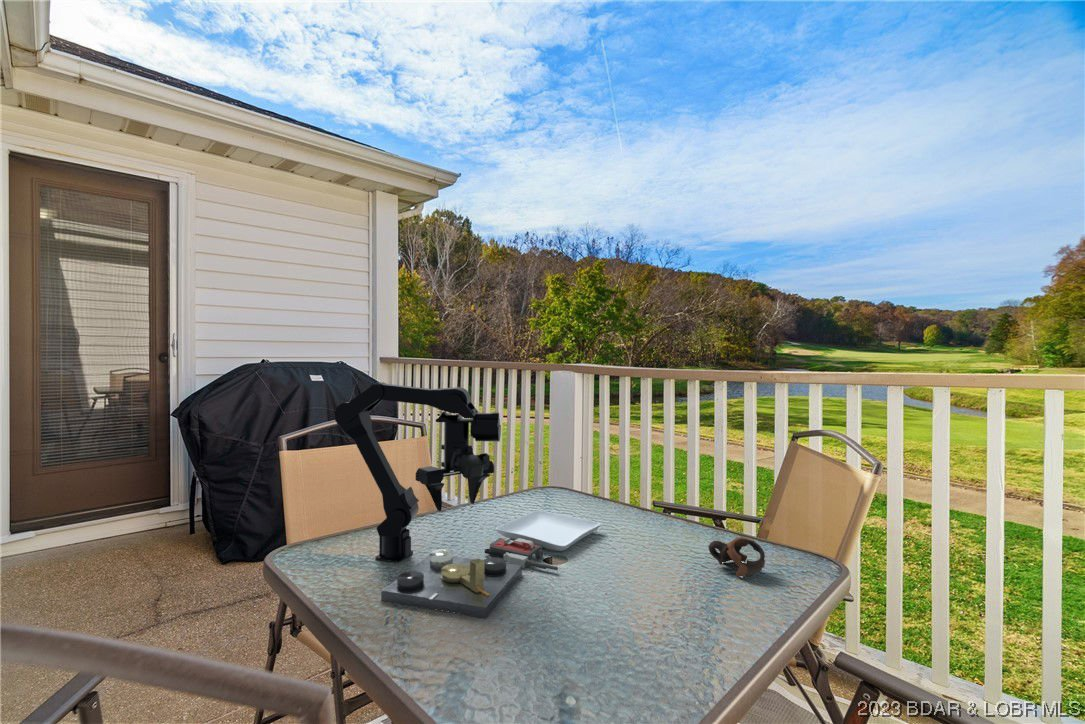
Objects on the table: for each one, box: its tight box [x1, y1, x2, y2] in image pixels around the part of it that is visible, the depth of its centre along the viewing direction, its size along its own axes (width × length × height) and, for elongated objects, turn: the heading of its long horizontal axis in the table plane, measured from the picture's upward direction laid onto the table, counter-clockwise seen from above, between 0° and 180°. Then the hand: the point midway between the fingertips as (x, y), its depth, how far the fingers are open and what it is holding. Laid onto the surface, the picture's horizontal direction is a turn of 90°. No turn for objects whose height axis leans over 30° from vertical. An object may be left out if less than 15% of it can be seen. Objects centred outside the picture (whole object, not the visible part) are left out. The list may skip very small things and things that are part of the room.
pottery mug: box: [707, 537, 766, 578], centre depth 117 cm, size 12×10×8 cm
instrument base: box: [380, 548, 523, 619], centre depth 107 cm, size 22×20×5 cm
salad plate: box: [495, 509, 602, 552], centre depth 138 cm, size 21×21×3 cm
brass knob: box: [441, 558, 484, 593], centre depth 105 cm, size 12×6×6 cm, turn 40°
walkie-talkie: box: [484, 537, 559, 571], centre depth 122 cm, size 9×4×20 cm
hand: (456, 507), depth 122 cm, fingers open, 9 cm apart
